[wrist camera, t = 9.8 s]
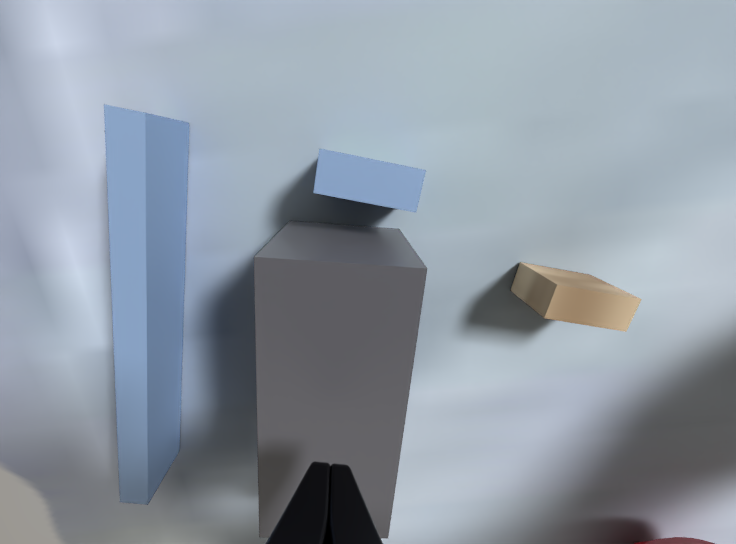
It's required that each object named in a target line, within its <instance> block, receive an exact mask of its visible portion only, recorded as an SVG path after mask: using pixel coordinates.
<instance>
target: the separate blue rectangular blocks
mask: <svg viewBox="0 0 736 544" xmlns="http://www.w3.org/2000/svg"><path fill="white" fill-rule="evenodd" d="M104 117H105V142H106V167H107V192H108V217H109V242H110V267H111V292H112V317H113V342H114V367H115V391H116V416H117V441H118V466H119V491H120V502H124V503H135V504H147V505H148V503H149V502H150V500H151V498H152V497H153V495H154V493H155V492H156V490H157V488H158V486H159V485H160V483H161V481H162V480H163V478H164V476H165V475H166V473H167V471H168V469H169V468H170V466H171V464H172V463H173V461H174V459H175V458H176V456H177V454H178V452H179V448H180V415H181V381H182V348H183V314H184V281H185V247H186V214H187V180H188V147H189V123H187V122H183V121H178V120H174V119H170V118H165V117H161V116H157V115H152V114H148V113H144V112H139V111H134V110H129V109H124V108H119V107H114V106H109V105H104ZM425 173H426V170H422V169H418V168H413V167H408V166H403V165H398V164H393V163H388V162H383V161H378V160H373V159H369V158H364V157H359V156H354V155H349V154H344V153H339V152H334V151H329V150H325V149H319V156H318V163H317V170H316V177H315V184H314V192H313V193H316V194H321V195H327V196H332V197H337V198H343V199H348V200H353V201H358V202H364V203H369V204H374V205H379V206H385V207H390V208H395V209H400V210H406V211H411V212H416V211H417V207H418V202H419V198H420V194H421V190H422V185H423V181H424V177H425Z"/></svg>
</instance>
